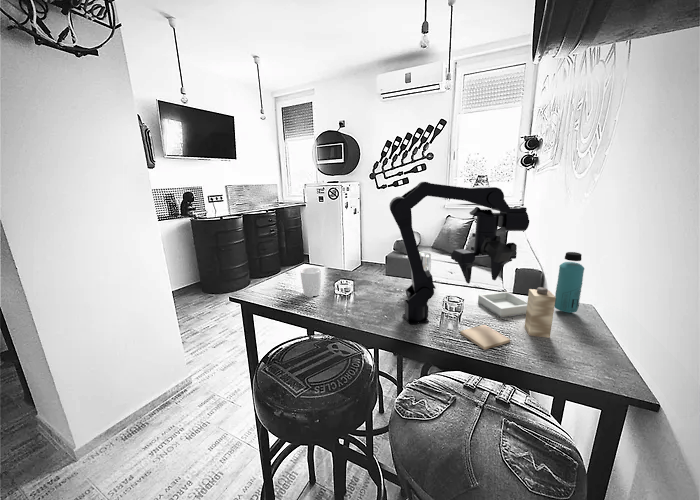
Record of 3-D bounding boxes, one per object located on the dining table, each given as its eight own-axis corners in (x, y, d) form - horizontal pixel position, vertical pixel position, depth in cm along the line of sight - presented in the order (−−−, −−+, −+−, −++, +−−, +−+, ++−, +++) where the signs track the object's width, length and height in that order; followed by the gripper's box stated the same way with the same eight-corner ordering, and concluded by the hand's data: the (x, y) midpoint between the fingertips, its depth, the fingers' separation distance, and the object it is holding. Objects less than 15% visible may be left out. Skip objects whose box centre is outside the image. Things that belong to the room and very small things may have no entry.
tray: (500, 317, 92) (501, 308, 91) (477, 302, 103) (478, 294, 102) (532, 313, 94) (533, 304, 93) (506, 299, 105) (507, 291, 104)
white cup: (326, 292, 117) (324, 269, 114) (313, 299, 110) (311, 274, 108) (311, 289, 121) (309, 266, 119) (298, 295, 115) (296, 272, 112)
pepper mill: (529, 335, 81) (534, 291, 78) (524, 326, 86) (529, 285, 83) (549, 337, 80) (556, 293, 76) (543, 328, 84) (549, 286, 81)
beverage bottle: (570, 319, 89) (581, 256, 84) (548, 310, 95) (556, 252, 90) (581, 314, 92) (592, 253, 87) (559, 306, 98) (568, 249, 93)
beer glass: (430, 294, 112) (432, 256, 108) (412, 293, 113) (413, 256, 110) (429, 287, 118) (430, 252, 115) (412, 286, 120) (412, 251, 116)
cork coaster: (484, 349, 75) (484, 347, 75) (460, 333, 83) (460, 330, 83) (510, 342, 78) (510, 339, 78) (484, 326, 86) (484, 324, 86)
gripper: (477, 238, 74) (472, 295, 78) (535, 233, 79) (528, 287, 82) (451, 231, 85) (448, 281, 88) (504, 227, 89) (499, 275, 93)
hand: (481, 281), depth 88 cm, fingers open, 9 cm apart
